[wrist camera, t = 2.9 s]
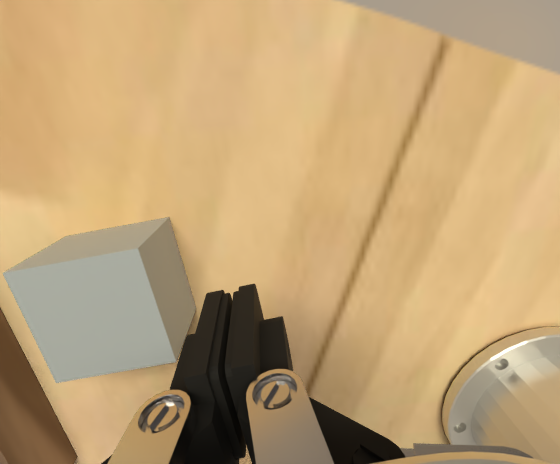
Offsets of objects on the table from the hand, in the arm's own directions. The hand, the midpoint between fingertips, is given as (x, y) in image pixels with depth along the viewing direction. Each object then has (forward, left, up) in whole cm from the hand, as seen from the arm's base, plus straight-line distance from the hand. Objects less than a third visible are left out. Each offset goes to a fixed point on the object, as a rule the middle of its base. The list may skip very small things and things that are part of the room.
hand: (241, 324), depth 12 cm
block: (+7, +1, -9) cm, 11 cm away
